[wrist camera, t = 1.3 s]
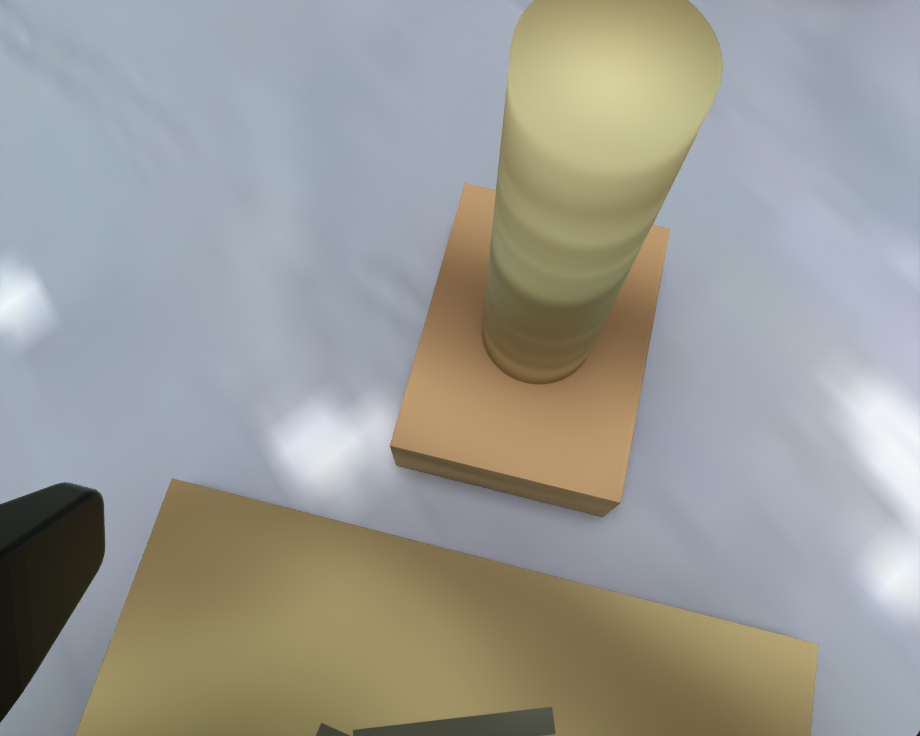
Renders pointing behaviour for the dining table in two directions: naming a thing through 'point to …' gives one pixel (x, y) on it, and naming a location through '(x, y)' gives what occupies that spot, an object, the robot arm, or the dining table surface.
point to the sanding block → (561, 256)
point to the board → (412, 642)
